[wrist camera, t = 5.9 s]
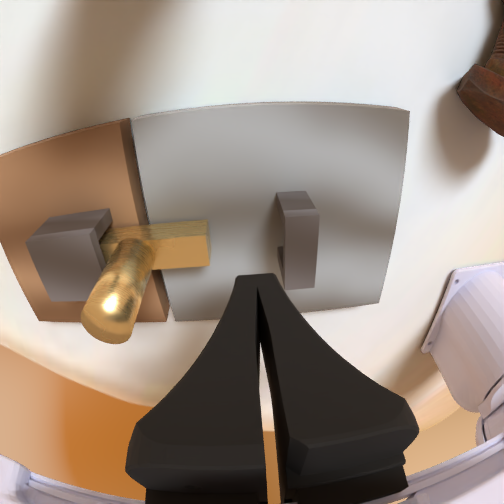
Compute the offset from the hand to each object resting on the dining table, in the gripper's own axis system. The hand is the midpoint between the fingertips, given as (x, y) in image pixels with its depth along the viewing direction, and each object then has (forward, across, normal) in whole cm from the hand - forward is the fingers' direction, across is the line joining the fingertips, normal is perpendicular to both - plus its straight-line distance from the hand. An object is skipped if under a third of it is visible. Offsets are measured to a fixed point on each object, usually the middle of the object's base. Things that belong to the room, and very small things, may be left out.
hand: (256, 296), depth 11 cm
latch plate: (+6, +4, 0) cm, 8 cm away
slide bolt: (+5, +6, 0) cm, 8 cm away
